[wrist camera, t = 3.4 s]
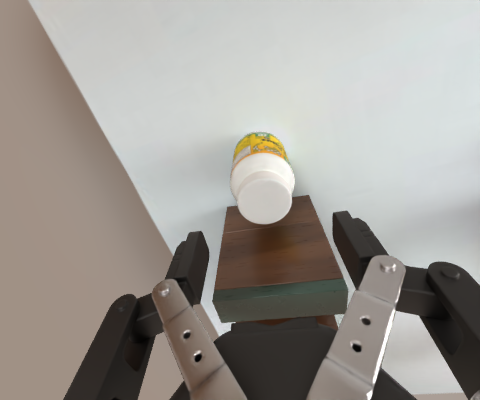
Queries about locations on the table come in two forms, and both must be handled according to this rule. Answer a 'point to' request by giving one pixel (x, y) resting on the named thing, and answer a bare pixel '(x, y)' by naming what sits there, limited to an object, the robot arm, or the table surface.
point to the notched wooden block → (278, 270)
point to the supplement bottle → (262, 178)
